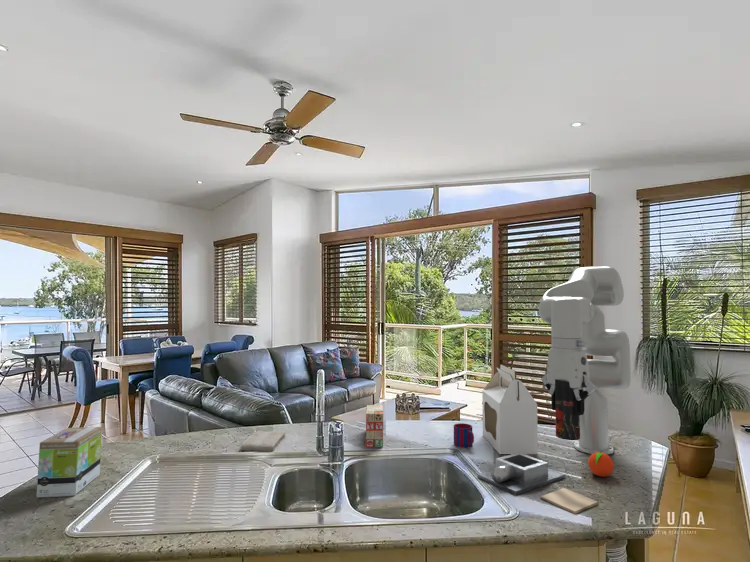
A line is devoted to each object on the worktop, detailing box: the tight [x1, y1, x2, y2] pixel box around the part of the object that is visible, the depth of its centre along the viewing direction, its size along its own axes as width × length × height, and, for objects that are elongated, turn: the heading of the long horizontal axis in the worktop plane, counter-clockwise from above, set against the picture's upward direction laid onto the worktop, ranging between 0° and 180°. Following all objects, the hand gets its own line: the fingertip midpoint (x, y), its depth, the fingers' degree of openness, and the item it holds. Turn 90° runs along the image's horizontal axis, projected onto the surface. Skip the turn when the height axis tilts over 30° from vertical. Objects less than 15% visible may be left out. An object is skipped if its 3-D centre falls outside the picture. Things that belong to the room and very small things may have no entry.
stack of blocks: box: [365, 404, 384, 448], centre depth 171 cm, size 21×6×12 cm, turn 0°
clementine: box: [587, 452, 615, 478], centre depth 135 cm, size 8×7×7 cm
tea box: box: [36, 426, 103, 498], centre depth 127 cm, size 15×10×15 cm, turn 9°
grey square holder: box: [477, 452, 566, 496], centre depth 133 cm, size 22×14×5 cm, turn 123°
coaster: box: [540, 487, 599, 515], centre depth 118 cm, size 10×10×1 cm
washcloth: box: [240, 430, 286, 452], centre depth 165 cm, size 12×18×3 cm, turn 178°
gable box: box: [481, 364, 539, 455], centre depth 165 cm, size 22×13×28 cm, turn 2°
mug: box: [453, 422, 475, 449], centre depth 162 cm, size 7×10×7 cm
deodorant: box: [554, 380, 580, 441], centre depth 119 cm, size 6×6×15 cm
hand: (567, 411), depth 119 cm, fingers closed on deodorant, 6 cm apart
